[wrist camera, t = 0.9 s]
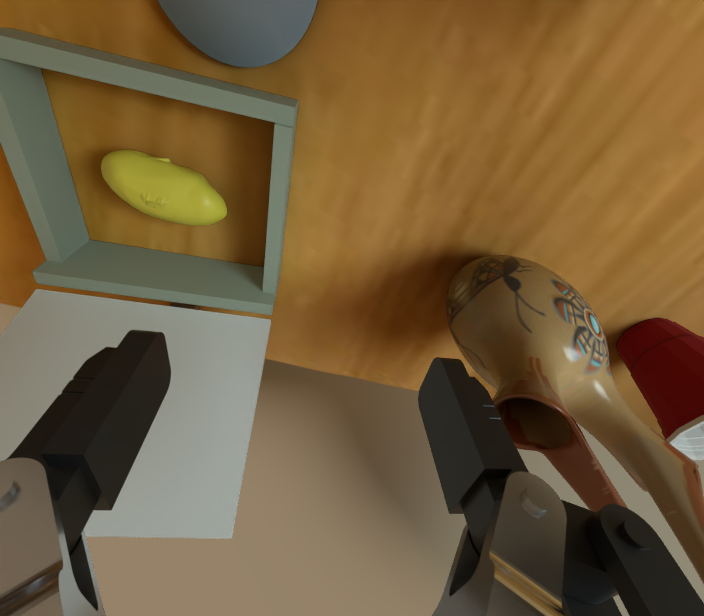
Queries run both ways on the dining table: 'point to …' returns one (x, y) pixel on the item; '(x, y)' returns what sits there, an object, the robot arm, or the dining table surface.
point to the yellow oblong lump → (162, 188)
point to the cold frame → (61, 198)
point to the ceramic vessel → (566, 388)
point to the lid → (172, 417)
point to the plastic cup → (669, 379)
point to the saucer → (242, 27)
